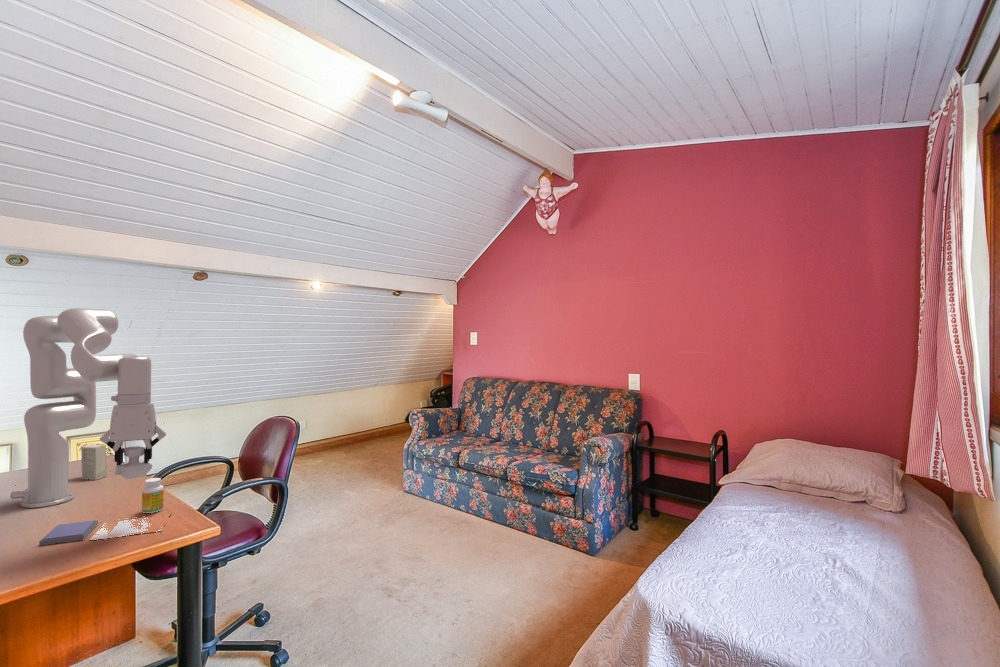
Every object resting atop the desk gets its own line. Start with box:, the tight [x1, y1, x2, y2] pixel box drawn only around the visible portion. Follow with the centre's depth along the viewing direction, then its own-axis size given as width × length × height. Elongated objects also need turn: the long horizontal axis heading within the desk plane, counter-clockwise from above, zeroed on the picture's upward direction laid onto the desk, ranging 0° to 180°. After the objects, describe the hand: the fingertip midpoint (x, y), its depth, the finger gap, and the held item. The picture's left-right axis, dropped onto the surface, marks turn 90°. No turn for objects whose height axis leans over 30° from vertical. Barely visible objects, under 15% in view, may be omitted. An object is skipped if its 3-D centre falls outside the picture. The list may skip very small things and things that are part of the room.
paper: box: [89, 518, 162, 541], centre depth 136 cm, size 16×14×1 cm
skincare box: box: [80, 443, 107, 481], centre depth 178 cm, size 6×4×12 cm
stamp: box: [114, 445, 153, 480], centre depth 136 cm, size 9×7×8 cm
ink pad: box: [39, 519, 99, 547], centre depth 130 cm, size 9×11×2 cm
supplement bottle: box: [141, 477, 165, 514], centre depth 148 cm, size 5×5×10 cm
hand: (133, 462), depth 136 cm, fingers closed on stamp, 5 cm apart
